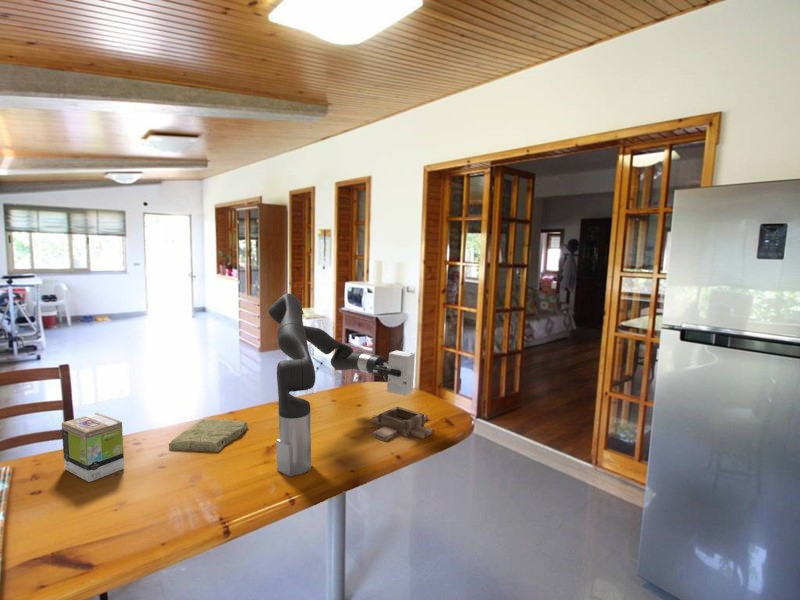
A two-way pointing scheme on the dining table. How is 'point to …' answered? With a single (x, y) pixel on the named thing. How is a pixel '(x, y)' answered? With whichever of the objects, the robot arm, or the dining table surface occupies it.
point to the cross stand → (400, 424)
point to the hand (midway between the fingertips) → (406, 371)
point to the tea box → (93, 446)
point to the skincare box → (406, 366)
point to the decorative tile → (208, 435)
